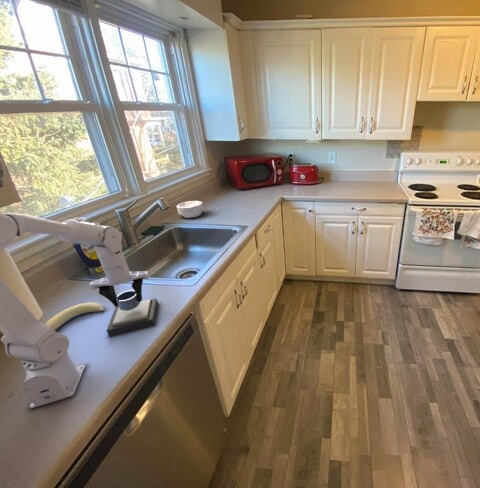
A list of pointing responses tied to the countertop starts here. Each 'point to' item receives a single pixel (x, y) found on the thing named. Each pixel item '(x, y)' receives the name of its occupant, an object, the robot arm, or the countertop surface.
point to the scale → (136, 324)
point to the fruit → (73, 313)
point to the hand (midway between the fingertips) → (129, 302)
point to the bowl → (127, 300)
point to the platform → (133, 314)
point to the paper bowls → (190, 209)
